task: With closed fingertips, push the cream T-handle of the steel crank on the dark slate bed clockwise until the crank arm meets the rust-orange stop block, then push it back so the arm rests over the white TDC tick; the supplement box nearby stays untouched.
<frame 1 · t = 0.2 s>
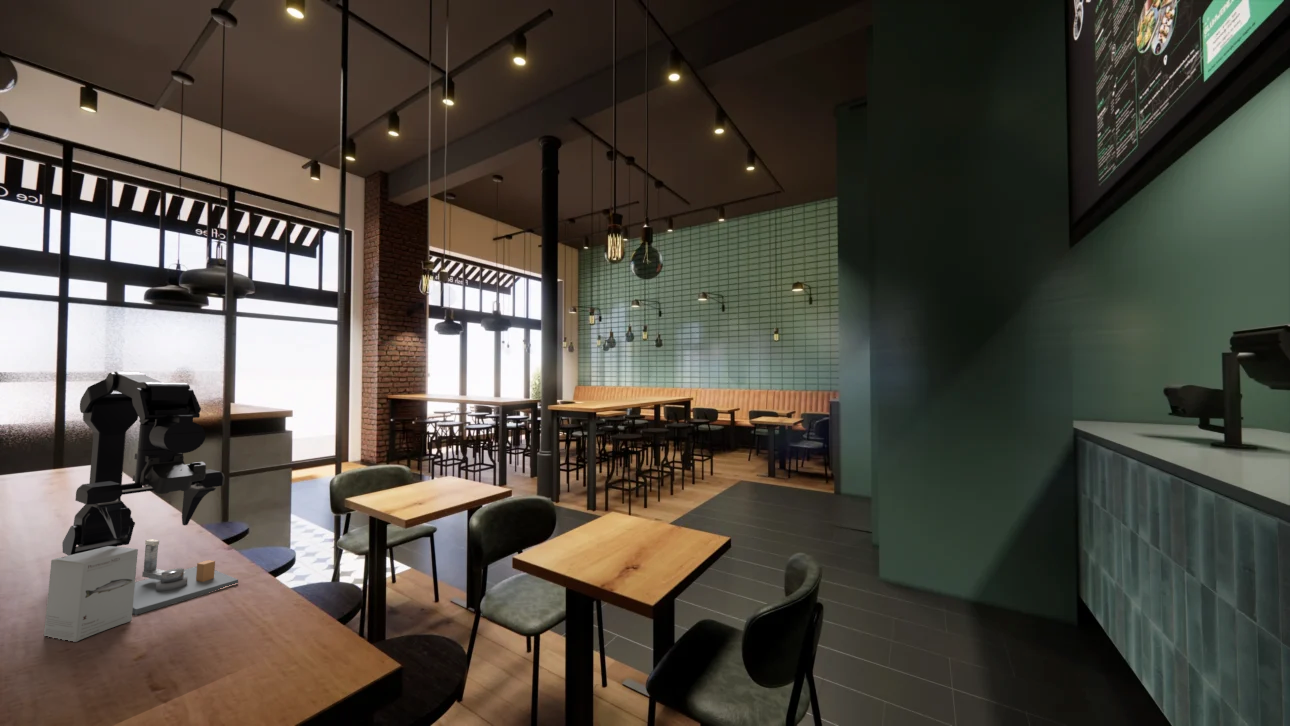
hand: (152, 531, 87), 14 cm above the table, tool pointing down, fingers open, 9 cm apart
crank bed: (172, 589, 94), on the table
supplement box: (89, 630, 79), on the table
crank: (162, 560, 94), point 6 cm above the table, hinge at 0.0°
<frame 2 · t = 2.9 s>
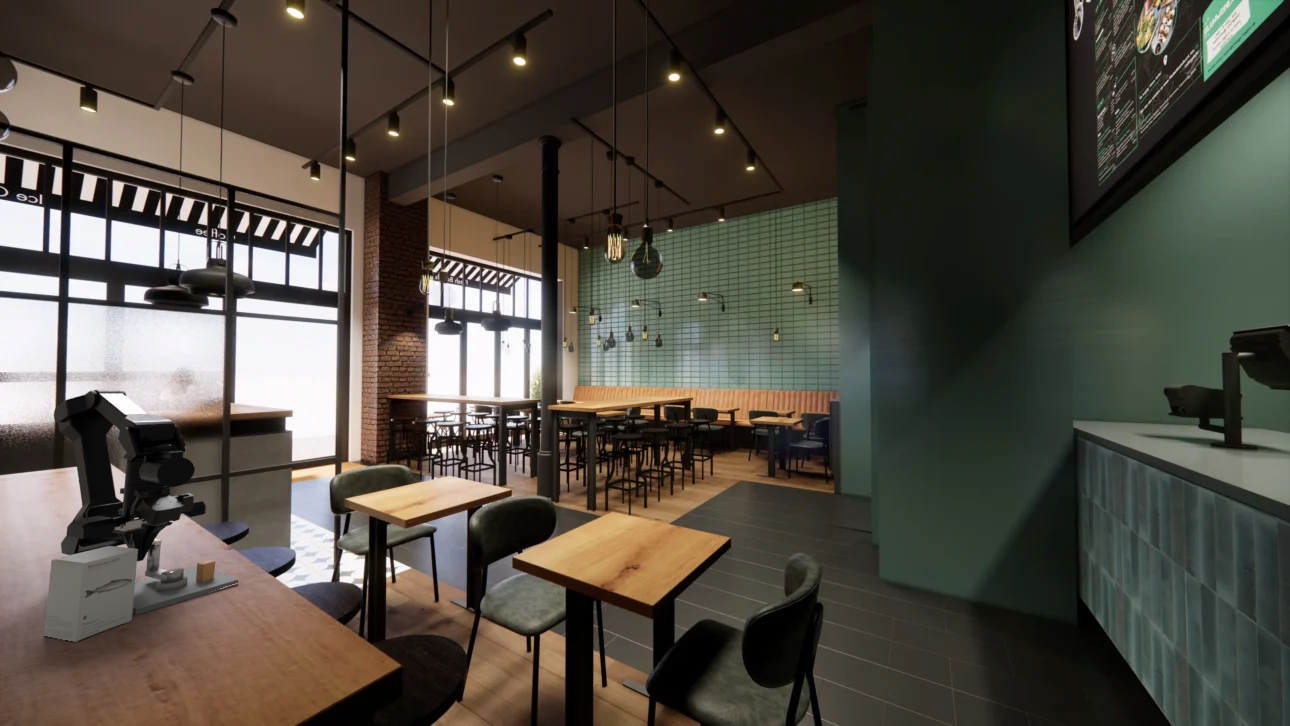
hand: (139, 560, 93), 6 cm above the table, tool pointing down, fingers closed
crank: (163, 559, 95), point 6 cm above the table, hinge at -3.5°, touching gripper
everything else where it was.
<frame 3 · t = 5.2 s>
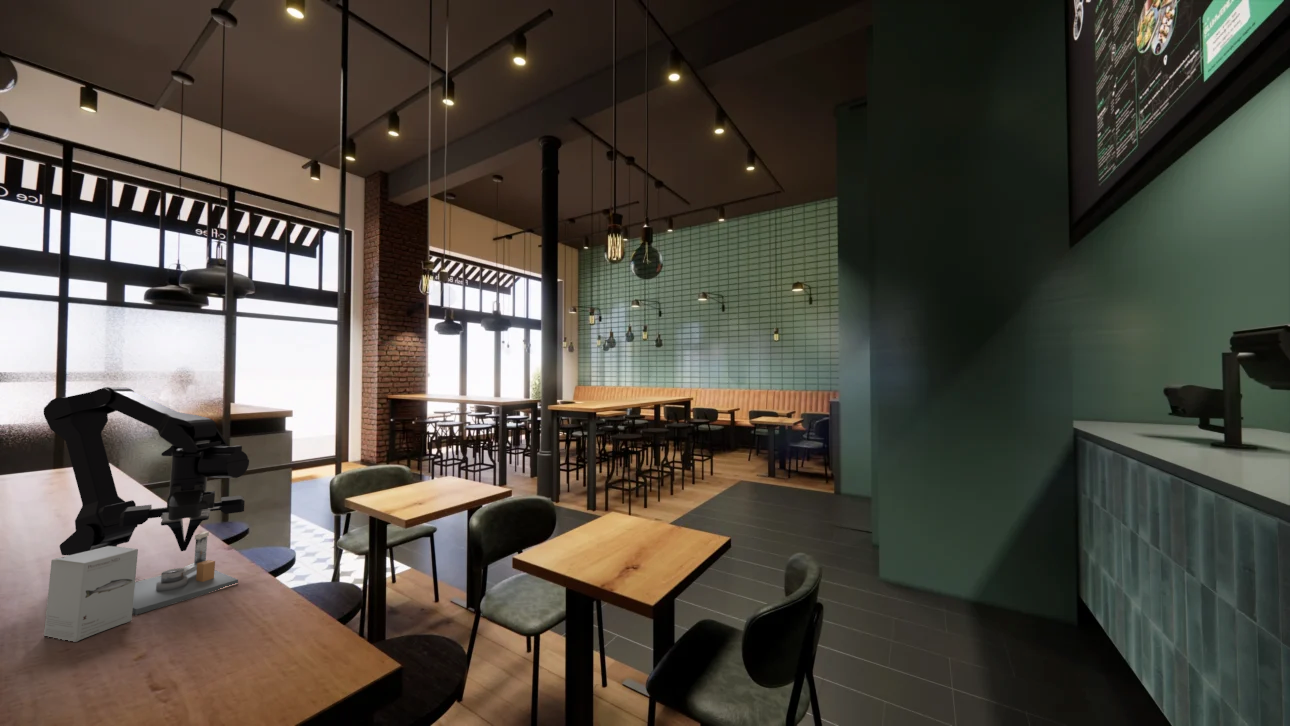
hand: (183, 550, 99), 6 cm above the table, tool pointing down, fingers closed
crank: (187, 556, 97), point 6 cm above the table, hinge at -64.1°, touching gripper
everything else where it was.
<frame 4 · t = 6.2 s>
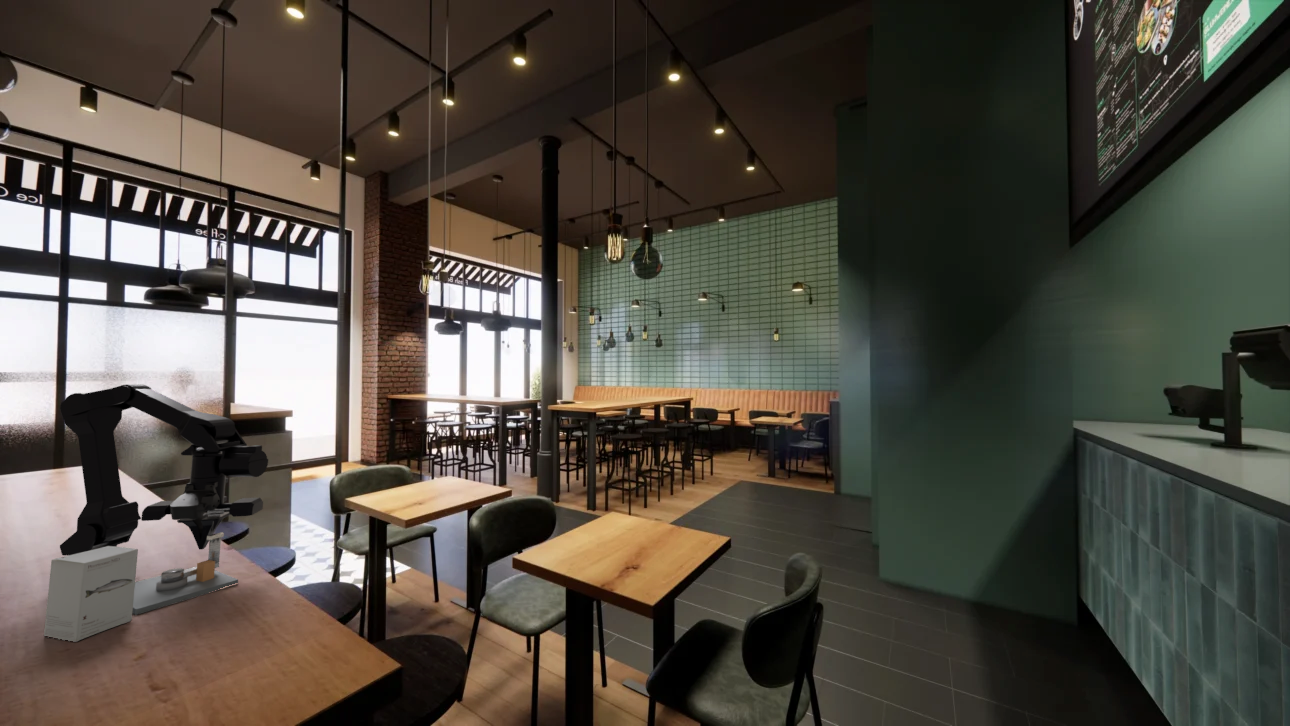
hand: (202, 548, 100), 6 cm above the table, tool pointing down, fingers closed
crank: (193, 556, 97), point 6 cm above the table, hinge at -90.0°, touching crank bed, gripper
everything else where it was.
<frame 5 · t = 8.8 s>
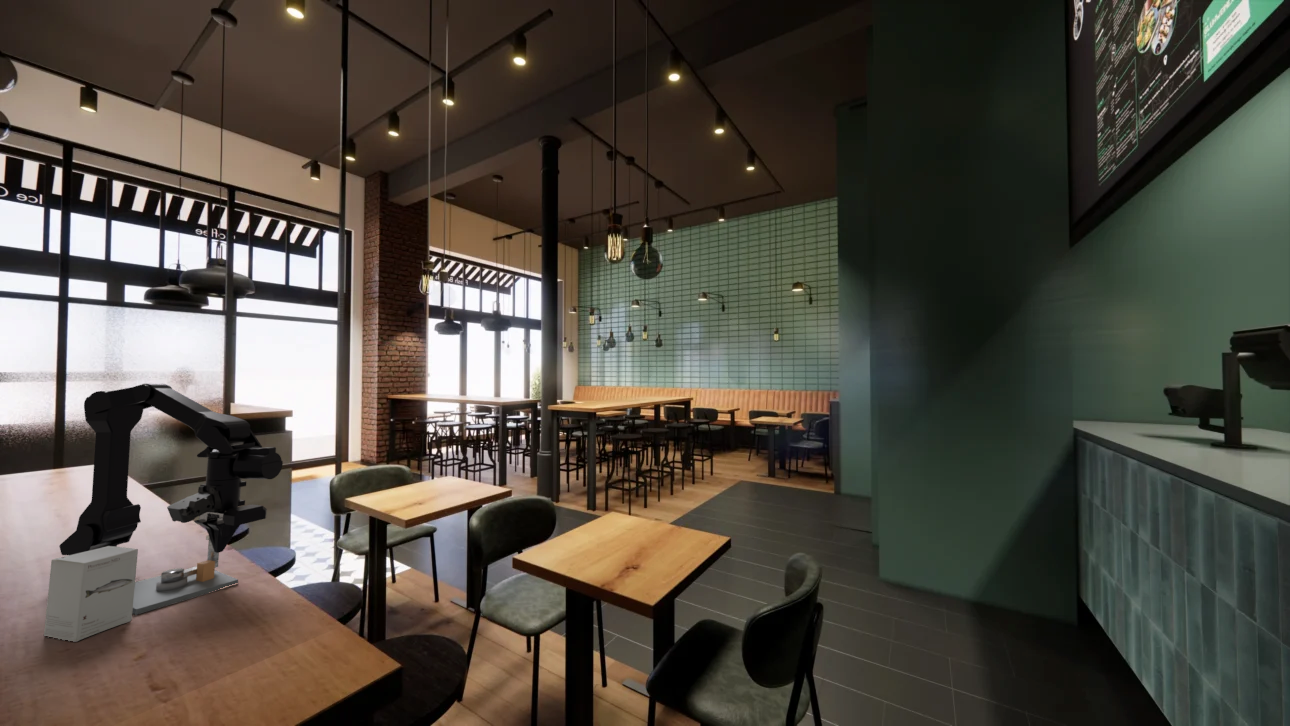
hand: (218, 552, 99), 6 cm above the table, tool pointing down, fingers closed
crank: (193, 556, 97), point 6 cm above the table, hinge at -87.8°, touching gripper
everything else where it was.
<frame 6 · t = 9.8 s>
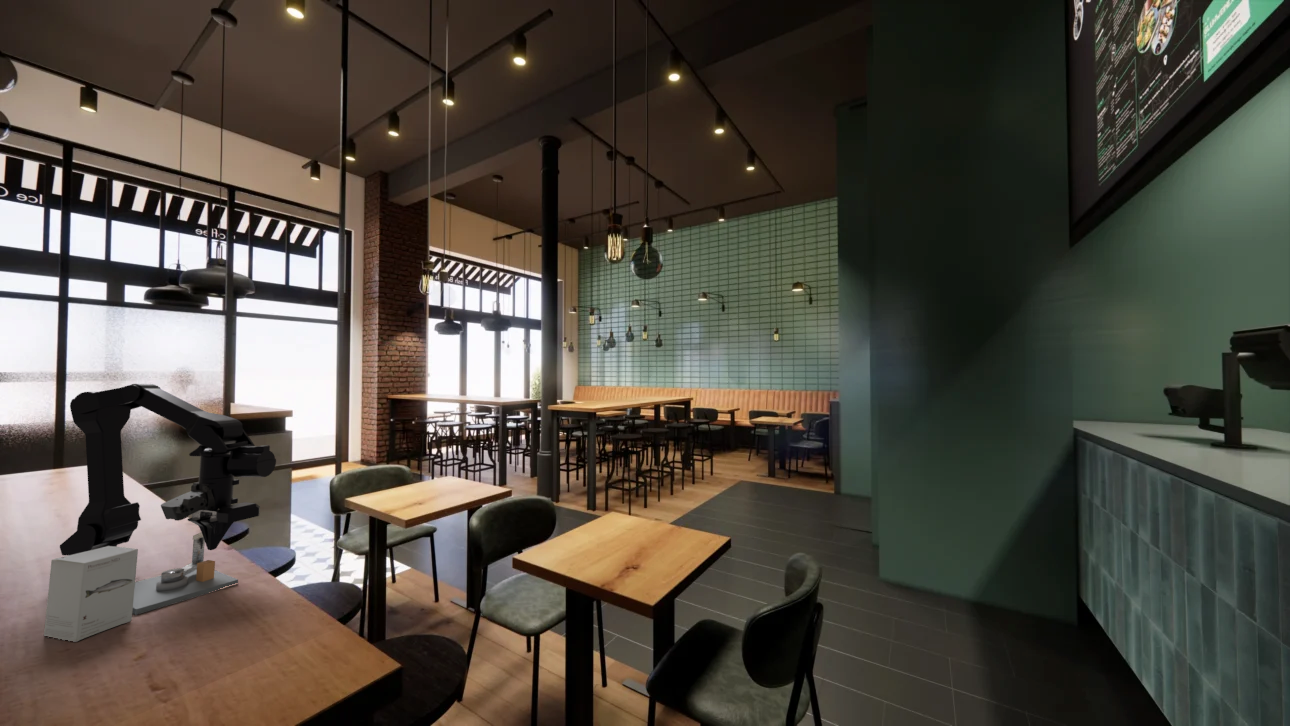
hand: (211, 549, 100), 6 cm above the table, tool pointing down, fingers closed
crank: (186, 556, 97), point 6 cm above the table, hinge at -60.5°, touching gripper
everything else where it was.
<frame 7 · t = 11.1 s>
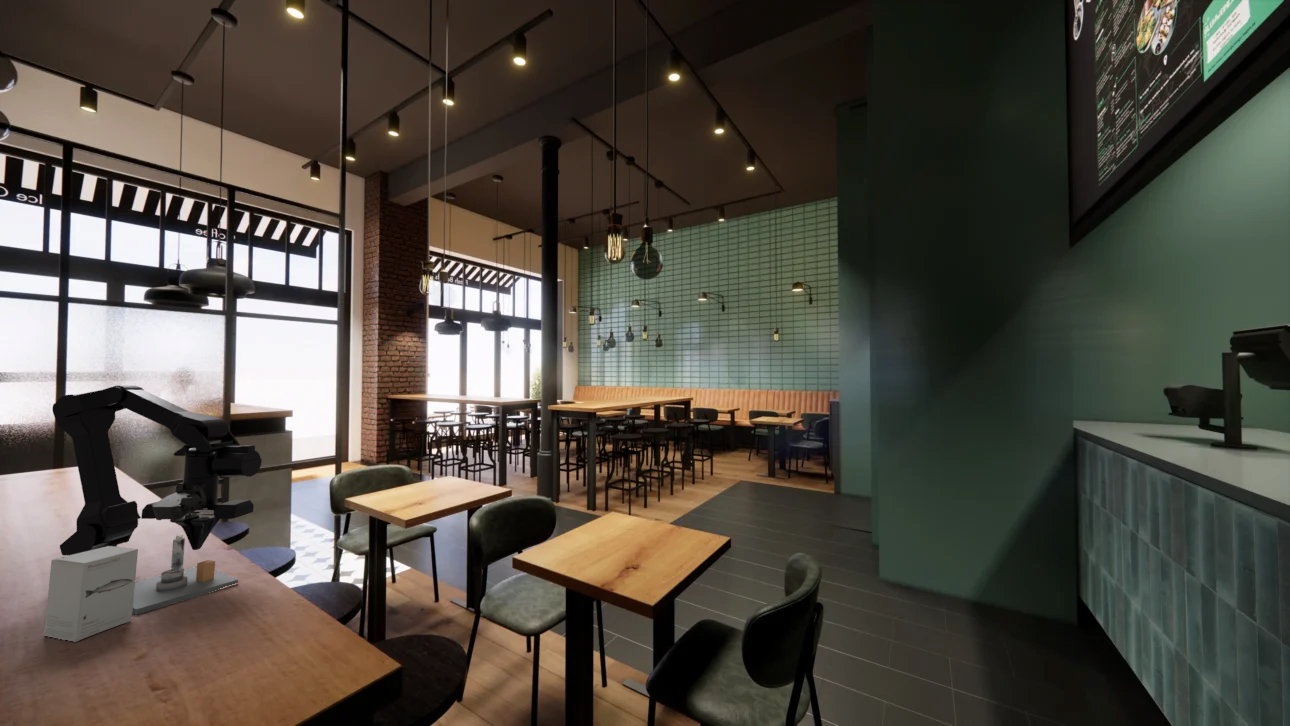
hand: (196, 549, 100), 6 cm above the table, tool pointing down, fingers closed
crank: (175, 557, 96), point 6 cm above the table, hinge at -33.5°, touching gripper
everything else where it was.
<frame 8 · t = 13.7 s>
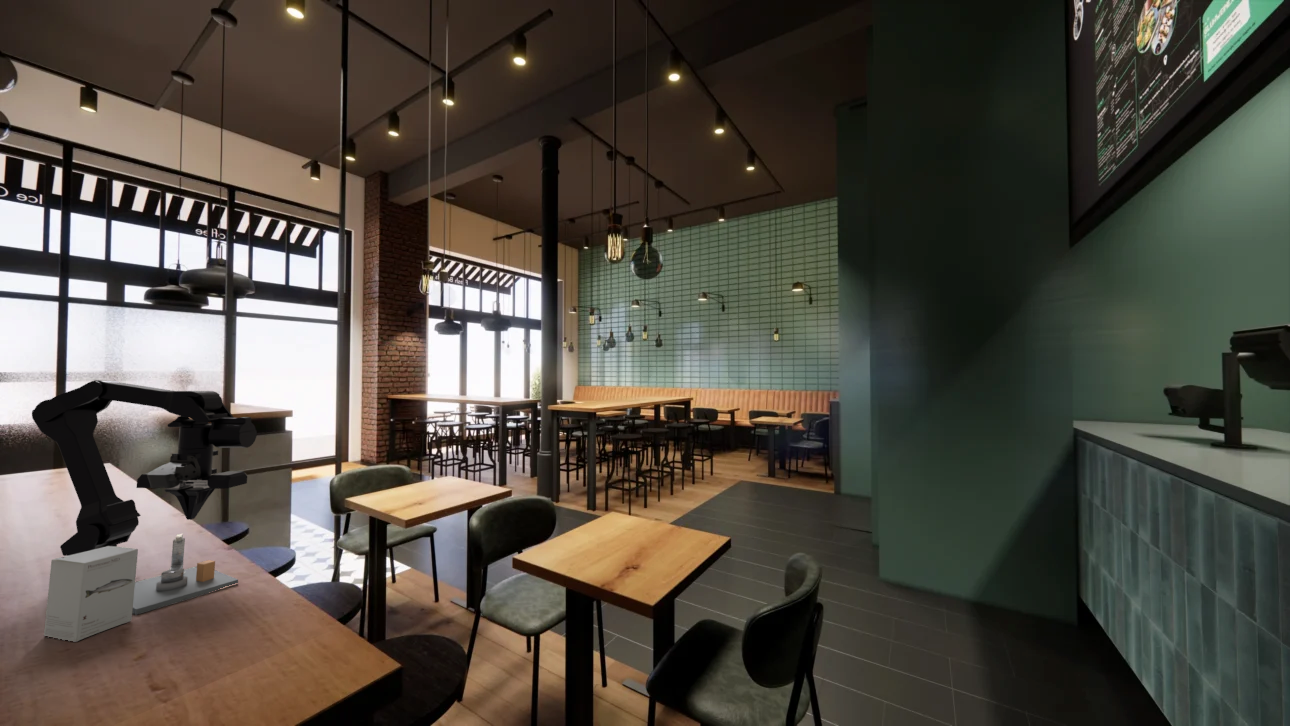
hand: (190, 519, 102), 12 cm above the table, tool pointing down, fingers closed
crank: (175, 557, 96), point 6 cm above the table, hinge at -33.5°
everything else where it was.
at the end: crank at -34° (first picture: +0°); supplement box moved 0.2 cm from its start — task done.
